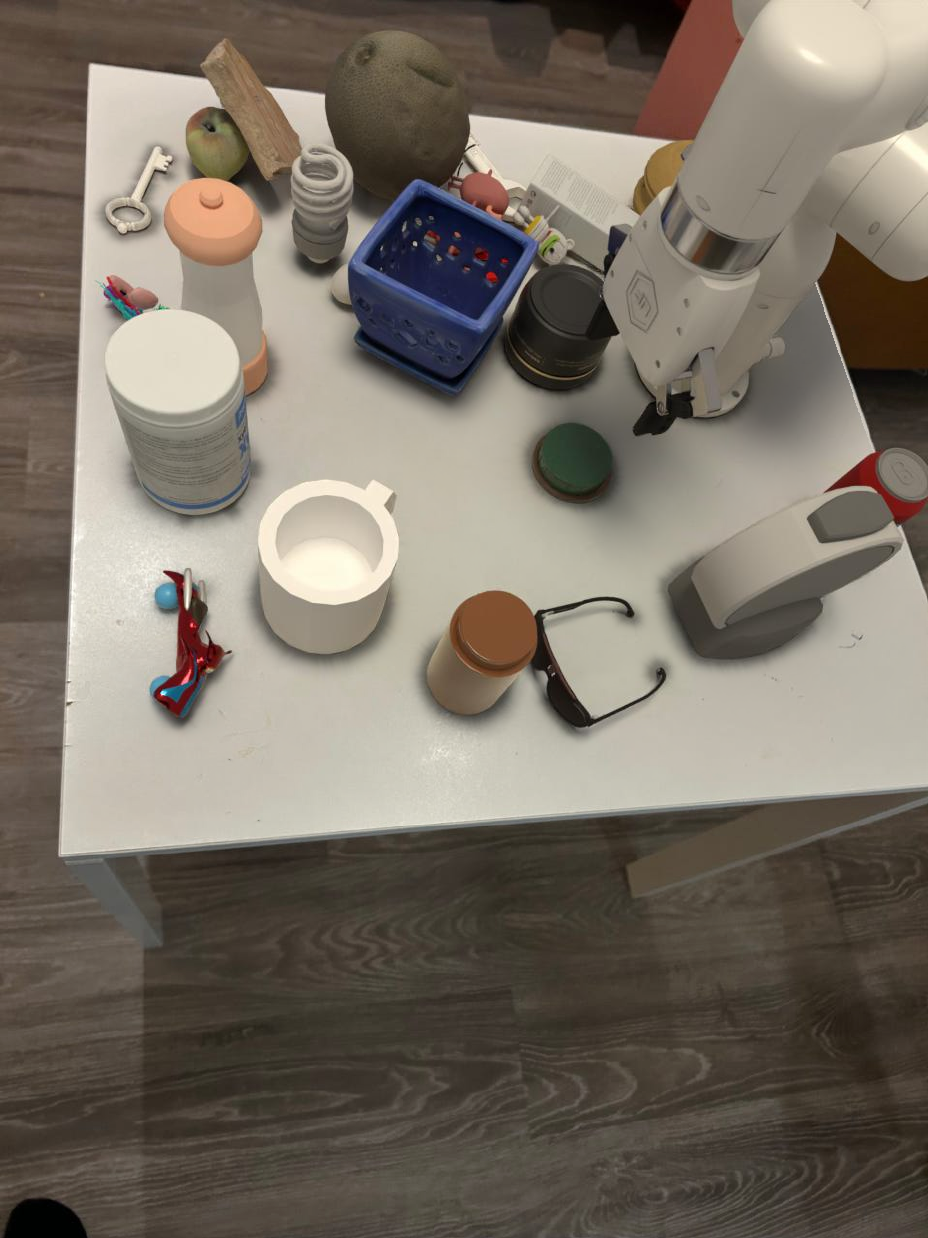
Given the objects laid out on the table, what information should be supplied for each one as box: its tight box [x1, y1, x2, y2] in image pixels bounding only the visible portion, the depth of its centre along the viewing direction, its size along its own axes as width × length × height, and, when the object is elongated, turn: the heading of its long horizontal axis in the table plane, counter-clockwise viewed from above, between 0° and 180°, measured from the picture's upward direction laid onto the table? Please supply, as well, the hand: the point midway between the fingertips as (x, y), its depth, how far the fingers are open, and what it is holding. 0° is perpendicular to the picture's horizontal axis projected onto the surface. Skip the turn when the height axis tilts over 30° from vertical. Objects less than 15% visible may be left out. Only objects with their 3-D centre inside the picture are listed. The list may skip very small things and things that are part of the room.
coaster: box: [531, 433, 613, 504], centre depth 79 cm, size 8×8×1 cm
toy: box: [456, 144, 575, 266], centre depth 85 cm, size 7×3×15 cm
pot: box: [632, 139, 695, 216], centre depth 90 cm, size 12×12×10 cm
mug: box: [257, 479, 400, 655], centre depth 65 cm, size 14×10×11 cm
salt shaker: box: [163, 177, 269, 396], centre depth 67 cm, size 7×7×19 cm
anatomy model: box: [94, 274, 170, 322], centre depth 72 cm, size 5×8×7 cm, turn 60°
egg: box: [330, 261, 382, 306], centre depth 80 cm, size 4×6×4 cm
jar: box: [504, 263, 612, 391], centre depth 81 cm, size 10×10×8 cm
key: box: [104, 146, 174, 234], centre depth 81 cm, size 12×1×4 cm
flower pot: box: [348, 179, 539, 396], centre depth 76 cm, size 13×13×12 cm
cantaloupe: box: [324, 29, 471, 201], centre depth 82 cm, size 14×14×15 cm
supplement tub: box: [103, 308, 252, 516], centre depth 65 cm, size 10×10×15 cm
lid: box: [537, 422, 613, 496], centre depth 78 cm, size 7×7×2 cm
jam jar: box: [426, 589, 537, 716], centre depth 64 cm, size 7×7×12 cm
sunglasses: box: [530, 596, 667, 729], centre depth 70 cm, size 11×12×5 cm
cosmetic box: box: [516, 153, 640, 272], centre depth 88 cm, size 6×4×12 cm
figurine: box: [425, 169, 510, 255], centre depth 86 cm, size 12×3×7 cm
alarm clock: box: [667, 486, 905, 660], centre depth 69 cm, size 16×10×18 cm, turn 110°
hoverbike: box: [148, 567, 233, 719], centre depth 63 cm, size 5×12×6 cm
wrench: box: [464, 130, 528, 222], centre depth 92 cm, size 25×5×2 cm, turn 33°
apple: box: [185, 106, 250, 182], centre depth 82 cm, size 6×8×6 cm
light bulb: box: [290, 142, 354, 264], centre depth 77 cm, size 6×6×12 cm
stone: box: [199, 37, 307, 182], centre depth 81 cm, size 13×12×3 cm
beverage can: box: [821, 447, 928, 528], centre depth 77 cm, size 7×7×12 cm
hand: (624, 381), depth 68 cm, fingers open, 9 cm apart
